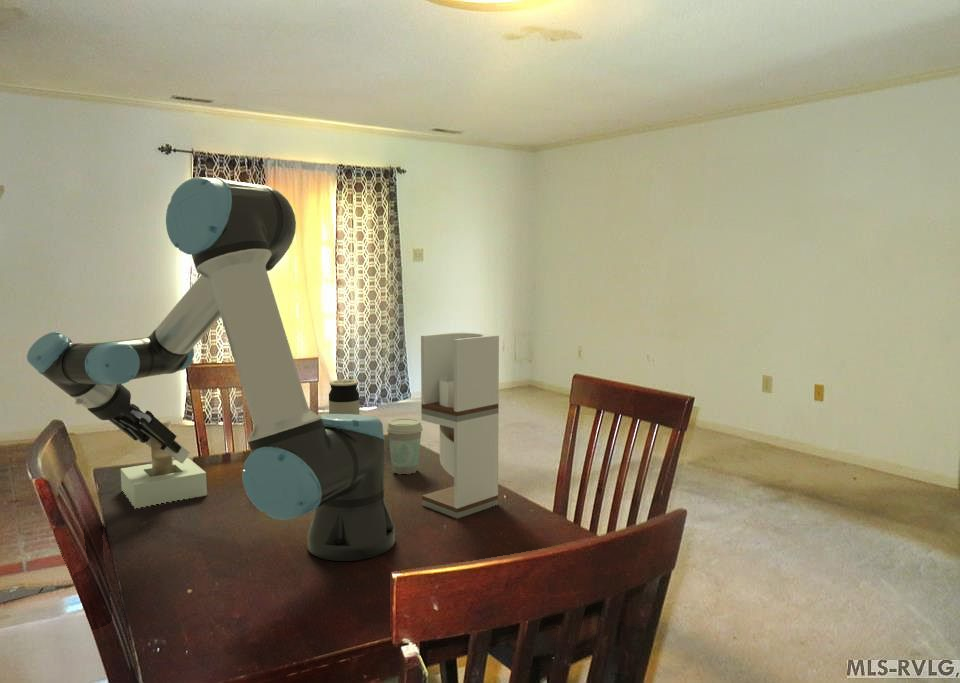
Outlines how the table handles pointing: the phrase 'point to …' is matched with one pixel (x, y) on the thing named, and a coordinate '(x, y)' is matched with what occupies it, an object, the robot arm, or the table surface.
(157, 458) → the dowel
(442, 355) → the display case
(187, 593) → the table surface
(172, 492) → the socket block
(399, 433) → the coffee cup
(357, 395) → the travel mug
